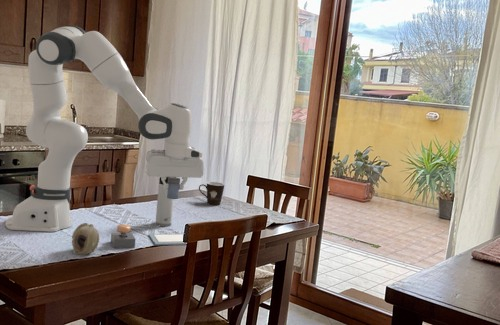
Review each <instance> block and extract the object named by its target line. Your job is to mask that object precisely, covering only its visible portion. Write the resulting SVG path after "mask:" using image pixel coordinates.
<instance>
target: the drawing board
mask: <svg viewBox="0 0 500 325" xmlns="http://www.w3.org/2000/svg"><path fill="white" fill-rule="evenodd" d="M183 234H184V233H149V234H148V237H149V238H150V240H151V241H152V243H153V244H154V246H186V243H184V242H183Z"/></svg>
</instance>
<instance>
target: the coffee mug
mask: <svg viewBox="0 0 500 325" xmlns="http://www.w3.org/2000/svg"><path fill="white" fill-rule="evenodd" d="M202 186H203V187H205V189H206V194H205V193H204V192H203V191H202V190H201V187H202ZM224 189H225V183H223V182H220V181H207V182H206V184H204V183H203V184H200V185H198V190H199V192H200V193H201V195H203V196H204V197H205V198H206V204H207V205H210V206H220V205H221V203H222V198H223V194H224Z"/></svg>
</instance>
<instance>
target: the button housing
mask: <svg viewBox="0 0 500 325" xmlns="http://www.w3.org/2000/svg"><path fill="white" fill-rule="evenodd" d="M110 234H111V235H110V243H111V245H112V247H113V249H126V248H127V249H128V248H129V249H131V248H132V249H133V248H134V249H135V248H136V238H135V236H134V235H133V233H132V232H129V233H126V237H121V233H120V232H111V233H110Z"/></svg>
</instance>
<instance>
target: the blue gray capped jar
mask: <svg viewBox="0 0 500 325" xmlns="http://www.w3.org/2000/svg"><path fill="white" fill-rule="evenodd" d="M168 184H169V187H168V190H167V198H169V199H174V200H178V199H179V193H180V190H179V184H181V177H169V178H168Z"/></svg>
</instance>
